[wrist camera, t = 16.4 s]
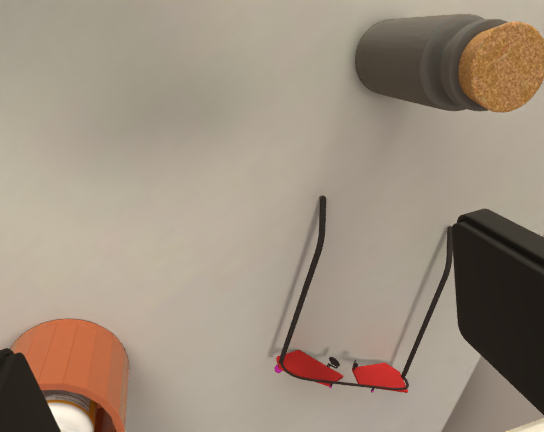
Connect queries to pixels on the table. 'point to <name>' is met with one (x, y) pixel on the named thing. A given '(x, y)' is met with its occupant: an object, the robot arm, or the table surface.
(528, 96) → the bottle
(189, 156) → the table surface
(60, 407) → the supplement bottle
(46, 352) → the cup
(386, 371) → the glasses
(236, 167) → the table surface
